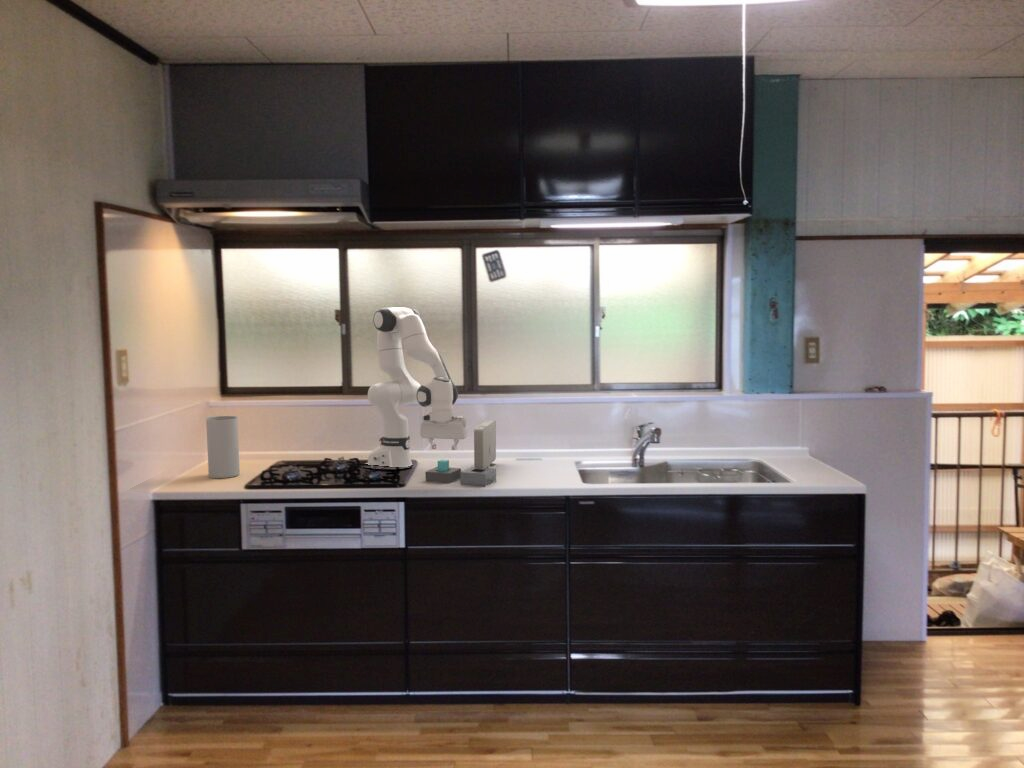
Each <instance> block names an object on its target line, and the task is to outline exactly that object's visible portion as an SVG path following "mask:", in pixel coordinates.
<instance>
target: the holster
mask: <svg viewBox="0 0 1024 768" xmlns="http://www.w3.org/2000/svg"><path fill="white" fill-rule="evenodd" d="M460 472H462V468H459V467H450V466H449V471H446V472H445V471H438V466H436V467H433V468H431V469H428V470H425V473H424V474H425V482H430V483H431V482H433V483H441V482H442V483H443V484H444V483H445V484H451V483H453V482H456V481H457V480H460Z"/></svg>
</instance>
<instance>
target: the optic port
mask: <svg viewBox="0 0 1024 768" xmlns="http://www.w3.org/2000/svg"><path fill="white" fill-rule="evenodd" d="M459 480H460V485H463V484H467V485H466V486H475V485H479V486H478V487H487V486H489V485H490V483H491V484H493V483H494V482H493V481H495V480H496V481H497V469H496V468H495V469H492V468H479V467H474V466H471V467H469V468H468V467H467V468H466V469H464V470H461V472H460V478H459ZM496 481H495V482H496ZM492 482H493V483H492ZM488 484H489V485H488ZM486 485H487V486H486Z"/></svg>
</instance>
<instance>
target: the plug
mask: <svg viewBox="0 0 1024 768" xmlns="http://www.w3.org/2000/svg"><path fill="white" fill-rule="evenodd" d="M437 467H438V471H445V472H446V471H449V467H450V461H449V459H440V460H439V459H438V460H437Z"/></svg>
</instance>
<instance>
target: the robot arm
mask: <svg viewBox="0 0 1024 768" xmlns="http://www.w3.org/2000/svg"><path fill="white" fill-rule="evenodd" d="M372 319H373V321H372V322H373V326H374V327H375V329H376V330H377V333H376V334H377V335H376V336H377V337H376V342H377V343H376V345H377V347H376V349H377V355H378V365H379V366H378V367H379V369H380V370H381V371H382V372H383V373H384V374H386V375H388V376H389V377H390V378H391V381H381V382H377V383H374V384H373V383H372V384H371V385H370V387H369V388H368V391H367V399H368V401H369V403H370V404H371V405H372V406H373V407H374V408H376V409H377V411H378V412H379V413H380V416H381V419H382V424H383V436H382V437H381V438H379V439H378V442H380V444H379V445H378V446H377V447H376V448H375V449H373V450H372V451H371V452H370V453H369V454H368V457H367V462H366V463H365V464H368V465H379V466H389V467H408V466H411V465H413V462H412V458H411V451H410V449H411V439H410V437H411V436H410V435H409V429H410V428H409V419H408V418H407V416H406V415H404V414H402V413H401V412H399V410H398V406H407V405H412V404H416V403H418V405H420V407H423V408H431V410H432V411H431V412H429V413H427V414H424V415H421V416H420V417H421V422H420V426H419V427H420V428H419V429H420V431H419V433H420V437H421V438H423V439H428V443H429V444H430V445H431V446H430V448H431V449H432V450H436V449H437V444H436V443H434V441H435V439H443V440H444V439H445V440H453V442H454V443H453V444H452V445H451V450H453V451H456V450H457V449H458V447H457V446H458V444H459V442H460V440H464V439H465V440H466V439H467V437H468V431H467V420H466V419H465V418H464V417H463V416H454V410H455V409H454V405H455V404H456V402H457V401H458V398H459V390H458V388H457V387H456V385H455V383H454V382H453V380H452V378H451V375H450V373H449V371H448V369H447V367H446V364H445V363H444V360H443V357H442V356H441V353H440V351H438V350H437V349H436V348H435V347H434V346H433V344H432V343H431V341H430V339H429V337H428V334H427V330H426V328H425V325H424V323H423V321H422V317H421V314H420V312H419V310H417V309H416V308H411V307H401V306H396V307H381V308H378V309H377V310H376V311H374V314H373V318H372ZM403 350H404V351H403ZM404 352H405V353H406V355H407V356H409V357H410V358H411V359H413V360H416V361H418V362H422V363H424V364H426V365H428V366H429V367H430V368H431V369H432V371H433V374H434V376H435V377H433V378H432V379H431V380H430V382H428V383H426V384H423V385H421V384H420V383H419V382H418V381H417V380H415V379H414V378H413V377H412V376H411V374H410V373H409V371H408V369H407V367H406V363H405V358H404Z"/></svg>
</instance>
